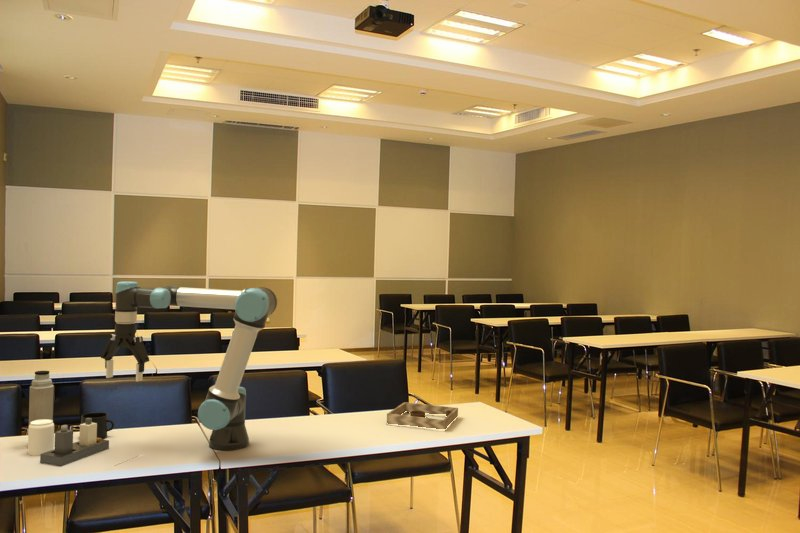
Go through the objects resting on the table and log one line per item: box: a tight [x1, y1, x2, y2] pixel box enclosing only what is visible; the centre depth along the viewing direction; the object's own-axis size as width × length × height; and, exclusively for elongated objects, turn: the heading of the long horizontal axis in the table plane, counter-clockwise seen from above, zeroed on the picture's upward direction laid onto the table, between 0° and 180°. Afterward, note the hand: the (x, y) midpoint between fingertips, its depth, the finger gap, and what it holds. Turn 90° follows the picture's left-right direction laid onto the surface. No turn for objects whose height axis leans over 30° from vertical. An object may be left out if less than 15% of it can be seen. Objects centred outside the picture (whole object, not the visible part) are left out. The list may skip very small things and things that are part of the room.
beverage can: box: [27, 419, 55, 457], centre depth 231 cm, size 8×8×12 cm
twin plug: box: [54, 424, 74, 455], centre depth 223 cm, size 4×4×12 cm
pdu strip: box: [39, 438, 110, 467], centre depth 228 cm, size 22×9×5 cm, turn 162°
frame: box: [386, 401, 459, 429], centre depth 296 cm, size 27×26×5 cm
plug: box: [78, 418, 97, 446], centre depth 233 cm, size 4×4×12 cm
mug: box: [80, 411, 115, 440], centre depth 254 cm, size 9×12×9 cm
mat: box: [114, 455, 139, 467], centre depth 228 cm, size 12×12×1 cm
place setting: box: [409, 410, 452, 418], centre depth 294 cm, size 18×20×6 cm
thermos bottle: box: [28, 370, 55, 426], centre depth 242 cm, size 8×8×28 cm
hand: (124, 379), depth 239 cm, fingers open, 13 cm apart
